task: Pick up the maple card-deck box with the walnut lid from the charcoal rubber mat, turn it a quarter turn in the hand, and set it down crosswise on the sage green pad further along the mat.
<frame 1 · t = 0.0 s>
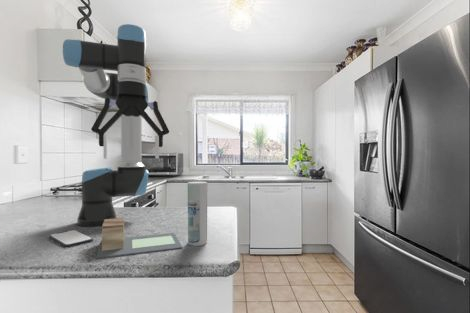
hand: (132, 158, 77), 28 cm above the countertop, tool pointing down, fingers open, 13 cm apart
phone case: (70, 241, 94), on the countertop
deck box: (113, 244, 88), resting on mat
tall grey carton: (197, 243, 91), on the countertop
mat: (140, 244, 89), on the countertop
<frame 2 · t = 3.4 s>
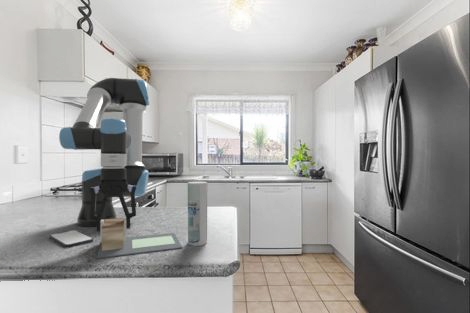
hand: (113, 239, 88), 2 cm above the countertop, tool pointing down, fingers closed on deck box, 6 cm apart
deck box: (113, 244, 88), resting on mat, touching gripper
everything else where it was.
when the fingers open (3 cm above the countertop, at t = 9.1 s): deck box stays where it is, resting on mat.
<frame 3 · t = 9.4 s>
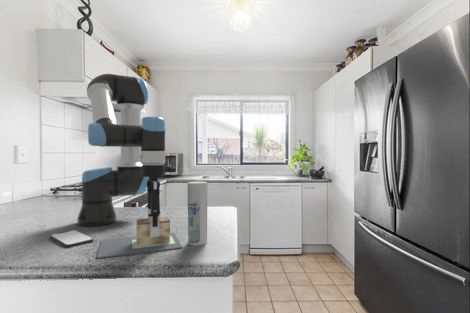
hand: (153, 232, 90), 4 cm above the countertop, tool pointing down, fingers open, 9 cm apart
deck box: (153, 241, 90), resting on mat
everything else where it was.
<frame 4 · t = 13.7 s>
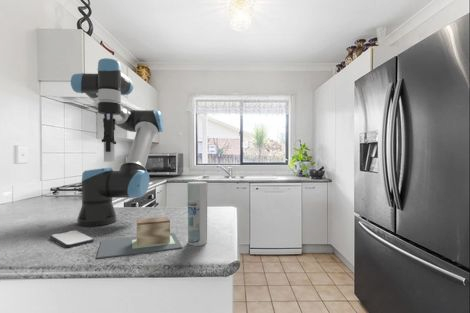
hand: (109, 161, 100), 27 cm above the countertop, tool pointing down, fingers open, 13 cm apart
nothing on the countertop moved.
at the end: deck box 0.1 cm from the target spot, point 0.5 cm above the countertop; deck box tilted 0°; the gripper is holding nothing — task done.
